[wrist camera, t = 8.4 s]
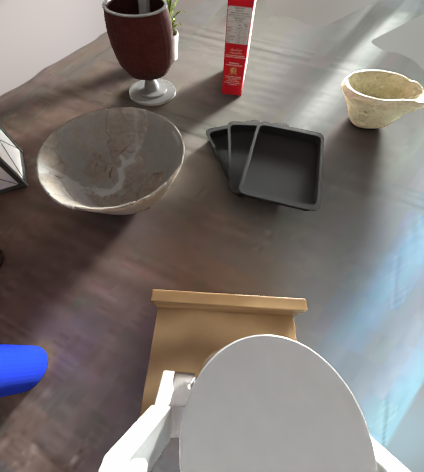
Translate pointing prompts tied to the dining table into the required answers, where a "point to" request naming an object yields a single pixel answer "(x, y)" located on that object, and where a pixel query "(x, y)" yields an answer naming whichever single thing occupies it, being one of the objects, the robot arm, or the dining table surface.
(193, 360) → the wooden stand
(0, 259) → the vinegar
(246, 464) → the cylinder
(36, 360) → the beverage can
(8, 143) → the lantern
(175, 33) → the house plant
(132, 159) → the ceramic bowl
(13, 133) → the dining table surface
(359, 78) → the bowl
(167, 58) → the mate gourd
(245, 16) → the food packaging
